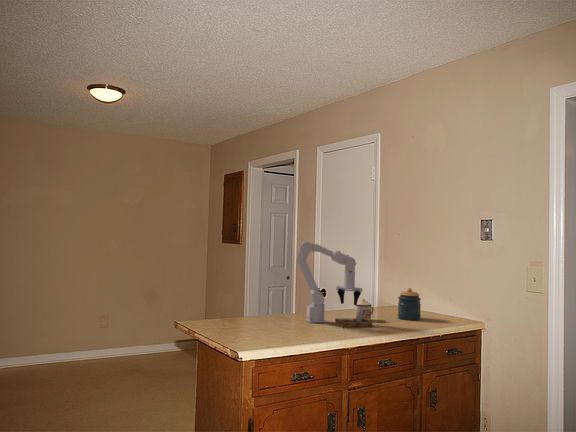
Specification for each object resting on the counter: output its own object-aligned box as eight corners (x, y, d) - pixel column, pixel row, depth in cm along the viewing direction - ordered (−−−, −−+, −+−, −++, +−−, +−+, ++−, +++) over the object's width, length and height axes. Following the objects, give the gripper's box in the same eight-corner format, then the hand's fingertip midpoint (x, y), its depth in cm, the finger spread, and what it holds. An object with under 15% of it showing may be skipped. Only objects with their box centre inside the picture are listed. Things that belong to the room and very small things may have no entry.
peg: (359, 324, 257) (360, 310, 257) (354, 323, 259) (354, 309, 259) (363, 323, 259) (363, 310, 260) (358, 322, 262) (358, 309, 262)
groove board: (343, 327, 249) (343, 322, 249) (335, 323, 260) (335, 318, 260) (372, 327, 253) (372, 322, 253) (362, 322, 264) (363, 318, 264)
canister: (423, 321, 275) (423, 289, 276) (400, 320, 276) (400, 289, 276) (417, 317, 288) (418, 287, 289) (395, 316, 289) (396, 286, 289)
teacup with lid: (362, 321, 267) (362, 300, 267) (351, 319, 275) (351, 298, 275) (378, 320, 273) (378, 299, 274) (367, 317, 281) (368, 297, 282)
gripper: (334, 278, 265) (333, 303, 264) (359, 280, 257) (358, 306, 257) (339, 277, 271) (338, 302, 270) (364, 279, 264) (363, 305, 263)
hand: (348, 304), depth 264 cm, fingers open, 7 cm apart
